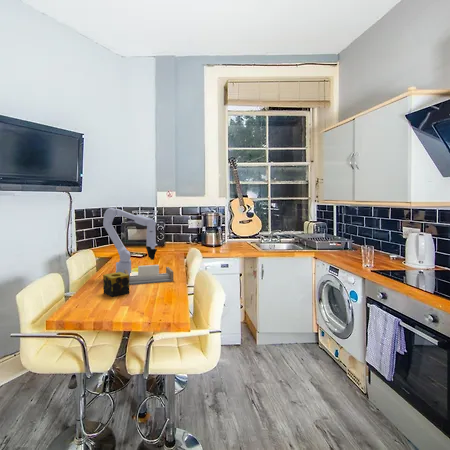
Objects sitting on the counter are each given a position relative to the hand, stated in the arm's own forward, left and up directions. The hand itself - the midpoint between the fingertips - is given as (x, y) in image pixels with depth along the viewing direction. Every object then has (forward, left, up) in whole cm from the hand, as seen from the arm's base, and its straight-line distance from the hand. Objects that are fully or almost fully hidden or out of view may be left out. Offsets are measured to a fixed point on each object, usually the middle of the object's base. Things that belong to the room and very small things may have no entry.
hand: (151, 258), depth 218 cm
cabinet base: (-4, -15, -10) cm, 19 cm away
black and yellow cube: (-24, -36, -11) cm, 45 cm away
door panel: (-4, -15, -9) cm, 18 cm away
